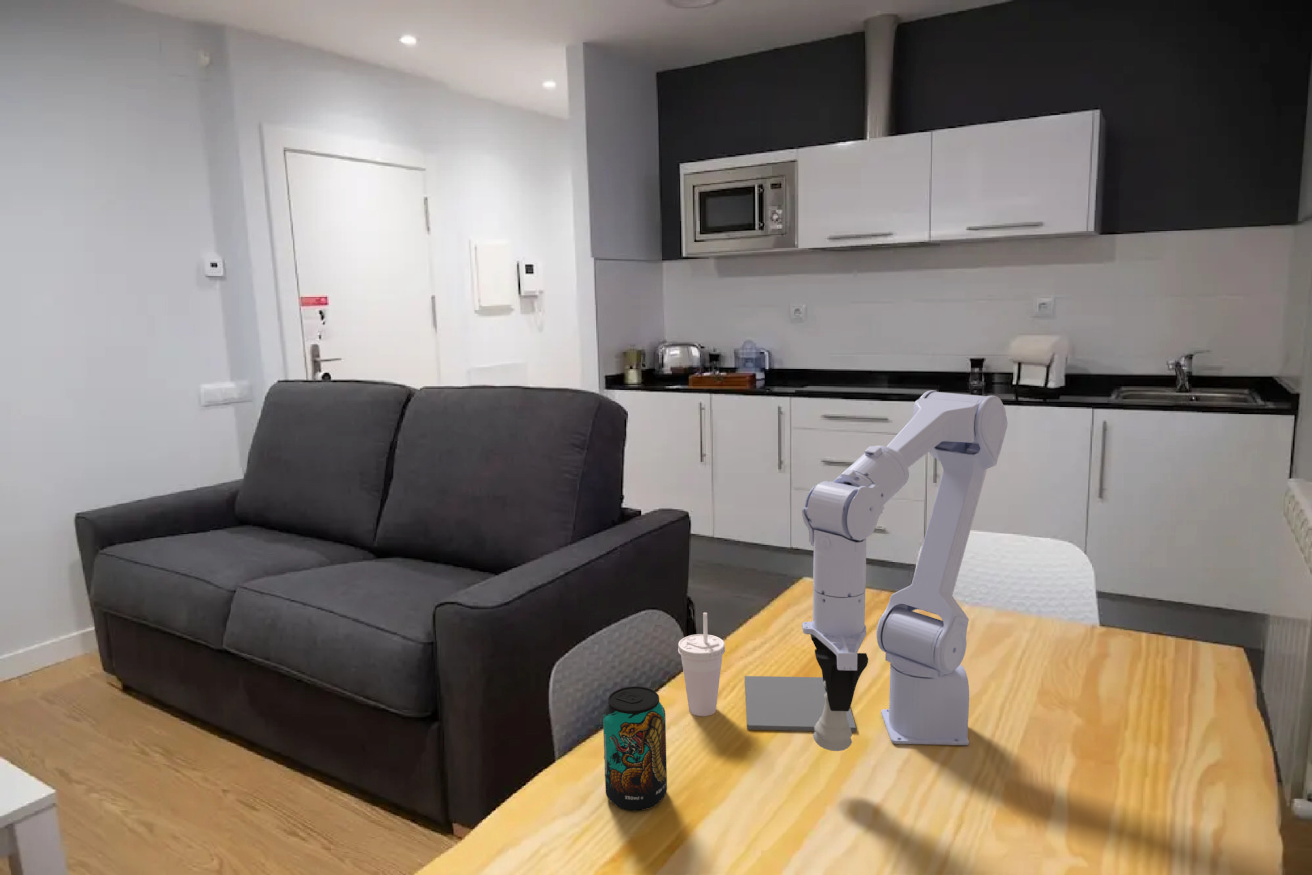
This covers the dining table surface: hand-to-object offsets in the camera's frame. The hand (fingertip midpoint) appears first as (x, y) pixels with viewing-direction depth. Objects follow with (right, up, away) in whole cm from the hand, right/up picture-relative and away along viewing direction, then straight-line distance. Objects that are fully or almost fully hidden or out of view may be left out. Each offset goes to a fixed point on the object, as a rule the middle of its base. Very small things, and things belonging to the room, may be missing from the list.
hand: (837, 701), depth 95 cm
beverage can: (-23, -11, 0) cm, 25 cm away
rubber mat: (-1, -7, +20) cm, 21 cm away
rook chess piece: (0, -5, +1) cm, 5 cm away
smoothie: (-14, -7, +19) cm, 25 cm away
